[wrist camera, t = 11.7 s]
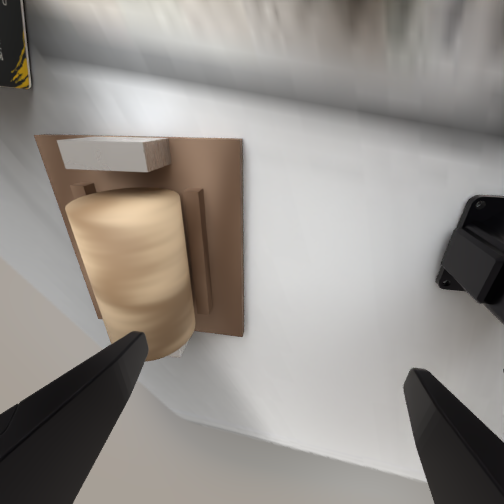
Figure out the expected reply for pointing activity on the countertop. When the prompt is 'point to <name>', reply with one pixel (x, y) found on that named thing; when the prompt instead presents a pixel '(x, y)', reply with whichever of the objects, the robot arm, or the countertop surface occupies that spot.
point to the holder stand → (191, 197)
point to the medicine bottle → (13, 46)
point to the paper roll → (137, 264)
